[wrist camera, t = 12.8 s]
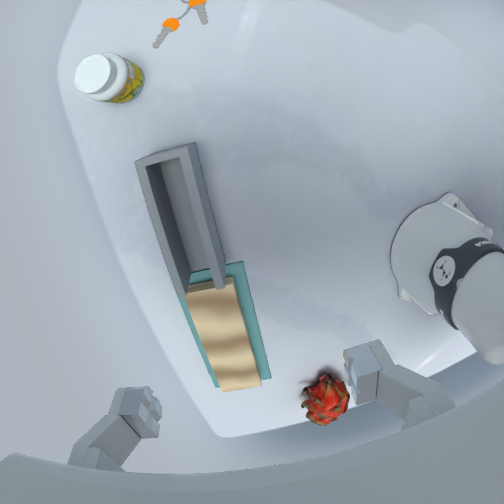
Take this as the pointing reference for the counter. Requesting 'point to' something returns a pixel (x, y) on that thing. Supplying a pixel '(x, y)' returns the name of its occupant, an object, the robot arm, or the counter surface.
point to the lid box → (181, 214)
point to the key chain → (172, 24)
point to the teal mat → (247, 309)
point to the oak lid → (223, 334)
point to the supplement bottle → (109, 78)
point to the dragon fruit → (326, 400)
